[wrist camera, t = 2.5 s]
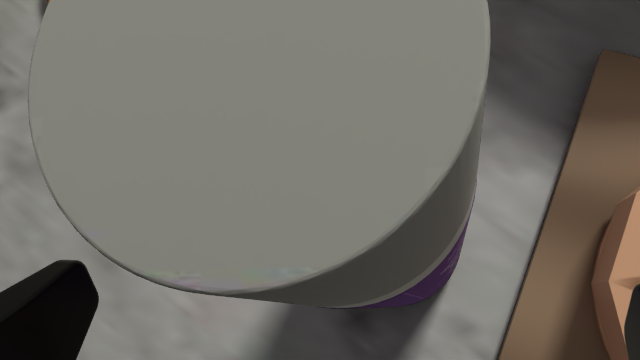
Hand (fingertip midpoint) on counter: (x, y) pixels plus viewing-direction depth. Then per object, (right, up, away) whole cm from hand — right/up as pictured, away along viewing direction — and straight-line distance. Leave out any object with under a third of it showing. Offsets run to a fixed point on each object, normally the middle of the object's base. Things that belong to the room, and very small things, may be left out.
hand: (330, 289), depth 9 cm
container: (+2, 0, +10) cm, 11 cm away
